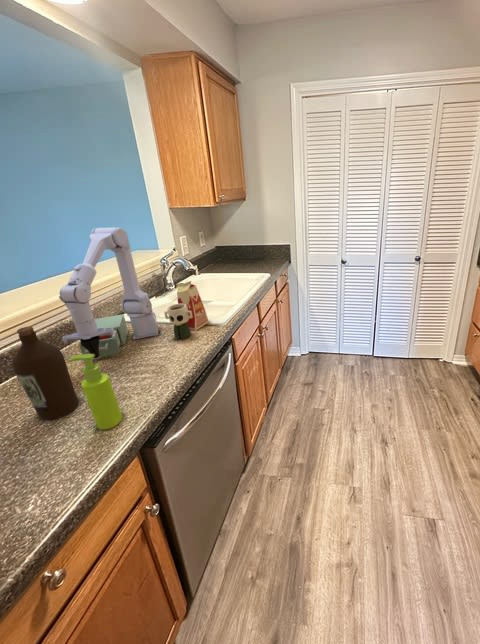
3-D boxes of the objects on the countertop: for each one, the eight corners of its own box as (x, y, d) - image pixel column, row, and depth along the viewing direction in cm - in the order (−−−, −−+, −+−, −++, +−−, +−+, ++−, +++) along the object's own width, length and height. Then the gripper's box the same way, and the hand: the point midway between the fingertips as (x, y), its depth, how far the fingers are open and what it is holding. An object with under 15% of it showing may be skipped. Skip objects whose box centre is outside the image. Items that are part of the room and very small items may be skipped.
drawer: (118, 358, 114) (113, 343, 112) (81, 366, 111) (75, 350, 108) (123, 338, 129) (119, 325, 126) (91, 344, 125) (86, 330, 123)
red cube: (113, 341, 125) (109, 329, 123) (111, 347, 120) (107, 335, 118) (97, 344, 123) (94, 332, 121) (95, 350, 119) (91, 338, 117)
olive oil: (65, 394, 97) (33, 318, 87) (89, 401, 94) (59, 322, 84) (27, 417, 88) (-13, 335, 78) (52, 425, 85) (14, 341, 75)
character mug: (166, 341, 127) (159, 310, 122) (173, 333, 134) (166, 303, 129) (193, 340, 127) (187, 309, 122) (199, 332, 133) (193, 303, 128)
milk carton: (209, 321, 143) (201, 278, 135) (196, 330, 135) (187, 284, 127) (191, 319, 146) (183, 277, 138) (178, 328, 138) (168, 283, 130)
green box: (124, 344, 126) (119, 326, 123) (88, 351, 122) (81, 333, 119) (128, 331, 138) (123, 314, 135) (95, 336, 134) (89, 319, 131)
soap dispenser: (99, 415, 87) (75, 351, 79) (126, 413, 88) (104, 348, 80) (88, 430, 82) (61, 363, 74) (116, 428, 83) (92, 360, 74)
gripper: (54, 329, 99) (69, 367, 104) (107, 320, 103) (118, 357, 109) (60, 321, 105) (74, 357, 110) (110, 313, 109) (121, 348, 115)
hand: (96, 356), depth 110 cm, fingers closed, pressing on drawer
